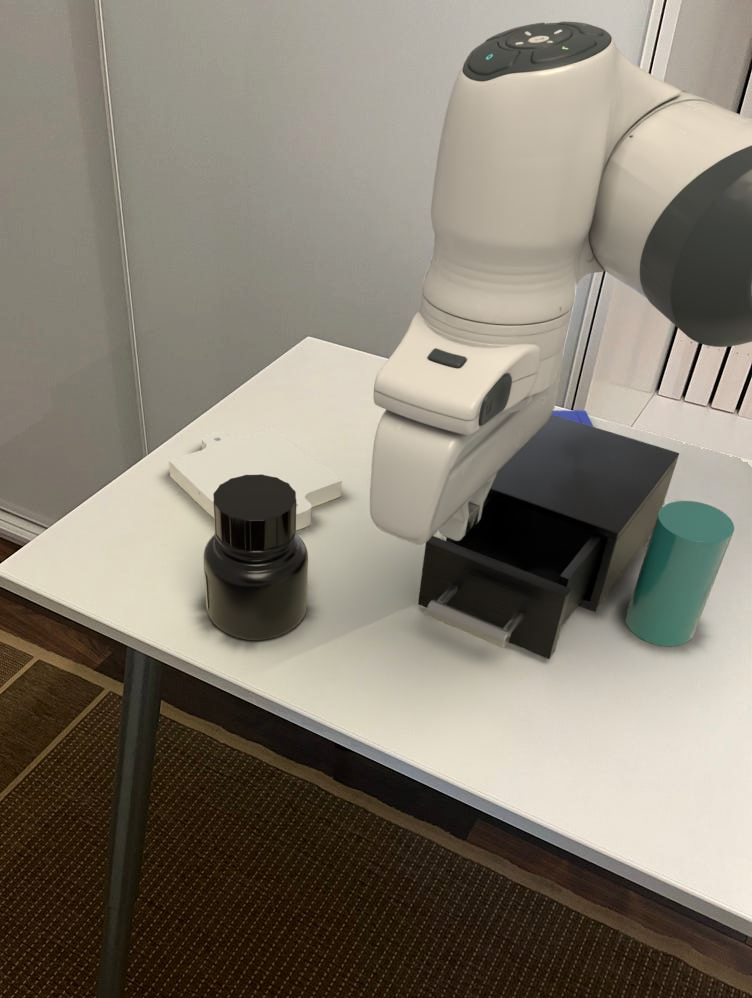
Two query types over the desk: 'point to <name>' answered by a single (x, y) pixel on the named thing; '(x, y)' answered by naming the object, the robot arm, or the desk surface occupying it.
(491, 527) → the drawer
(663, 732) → the desk surface
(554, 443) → the cabinet
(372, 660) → the desk surface
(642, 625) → the teal cylinder
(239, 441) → the mounting plate
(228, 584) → the ink bottle
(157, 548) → the desk surface
